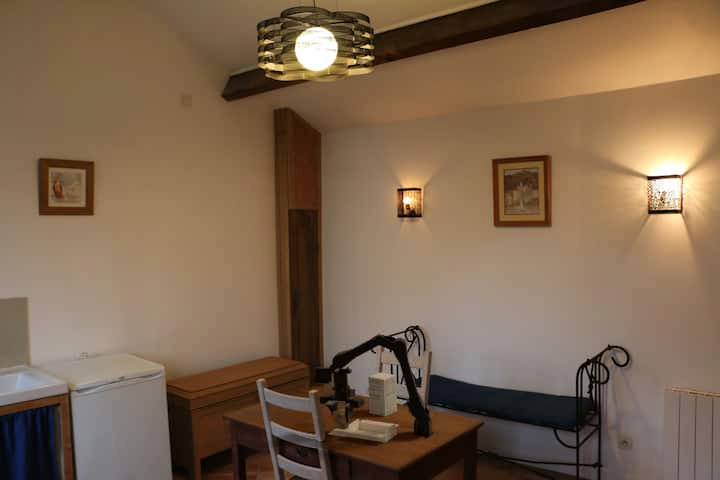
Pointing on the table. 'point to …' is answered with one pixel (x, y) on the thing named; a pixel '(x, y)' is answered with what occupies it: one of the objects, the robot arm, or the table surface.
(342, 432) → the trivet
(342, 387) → the robot arm
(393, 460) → the table surface
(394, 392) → the supplement box
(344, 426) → the tea box
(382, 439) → the cream tray
